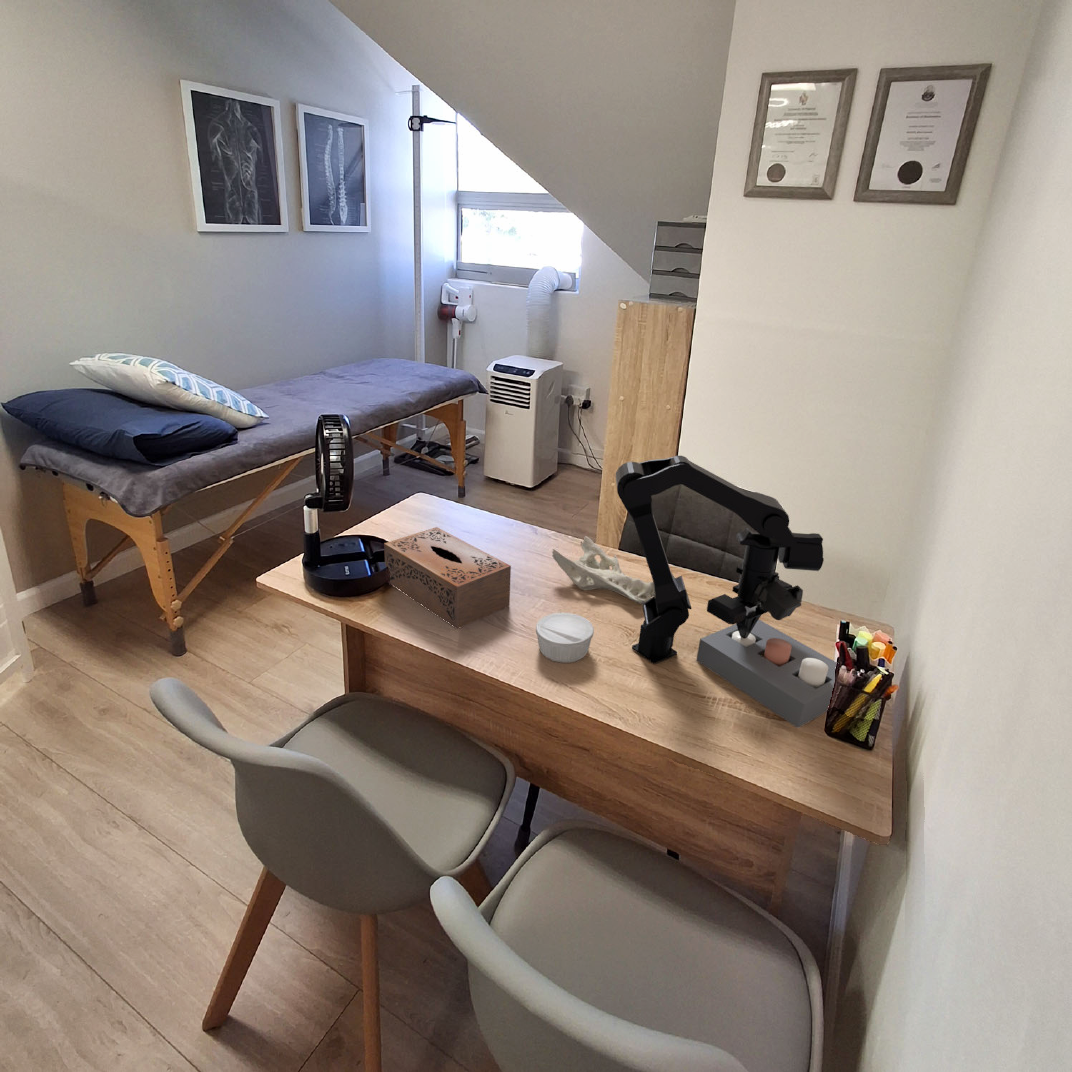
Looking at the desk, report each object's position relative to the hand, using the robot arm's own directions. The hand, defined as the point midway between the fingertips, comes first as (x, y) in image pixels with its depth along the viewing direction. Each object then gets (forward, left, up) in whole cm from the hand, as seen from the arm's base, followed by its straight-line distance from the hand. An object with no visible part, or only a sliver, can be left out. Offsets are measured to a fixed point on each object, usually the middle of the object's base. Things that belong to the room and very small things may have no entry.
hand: (743, 637), depth 131 cm
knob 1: (0, 0, -4) cm, 4 cm away
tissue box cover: (-37, +51, -5) cm, 64 cm away
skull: (-4, +35, -5) cm, 36 cm away
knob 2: (0, -15, -2) cm, 15 cm away
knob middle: (0, -7, -2) cm, 8 cm away
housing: (0, -8, -5) cm, 9 cm away
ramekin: (-28, +20, -5) cm, 35 cm away
